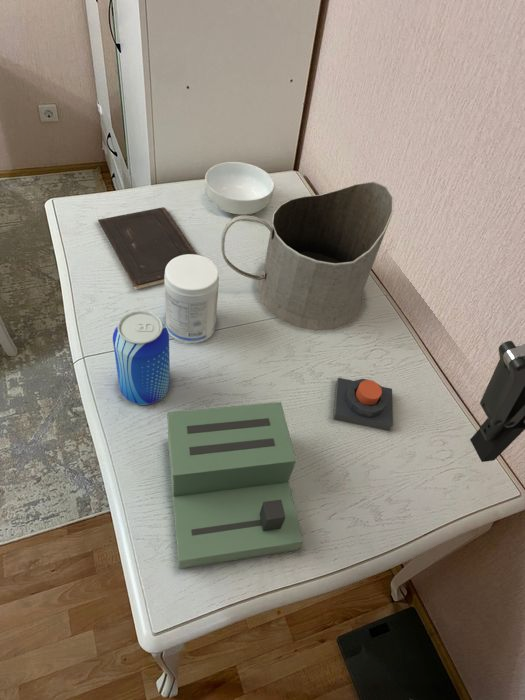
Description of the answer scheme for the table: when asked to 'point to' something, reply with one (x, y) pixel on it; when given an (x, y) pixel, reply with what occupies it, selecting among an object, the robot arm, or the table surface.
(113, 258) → the table surface
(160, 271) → the hardcover book
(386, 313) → the table surface
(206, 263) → the supplement tub
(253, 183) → the cereal bowl
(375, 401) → the button
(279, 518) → the slider knob
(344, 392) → the control block
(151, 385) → the beer can
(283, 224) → the pitcher
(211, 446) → the toaster
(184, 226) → the table surface
